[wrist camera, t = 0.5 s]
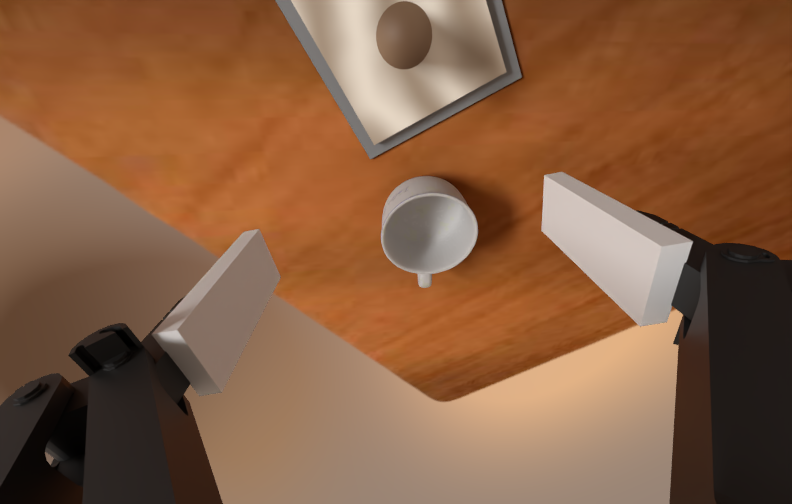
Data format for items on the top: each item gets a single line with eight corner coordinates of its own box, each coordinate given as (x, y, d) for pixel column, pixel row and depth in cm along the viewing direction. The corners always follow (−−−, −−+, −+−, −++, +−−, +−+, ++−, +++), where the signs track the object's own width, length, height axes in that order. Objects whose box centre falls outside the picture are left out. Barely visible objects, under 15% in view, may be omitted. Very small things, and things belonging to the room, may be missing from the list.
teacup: (391, 158, 37) (390, 186, 31) (478, 174, 38) (494, 204, 32) (374, 250, 45) (370, 288, 39) (446, 261, 46) (454, 300, 40)
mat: (454, -172, 23) (455, -174, 22) (520, 76, 32) (521, 77, 32) (266, -17, 28) (264, -18, 27) (370, 158, 37) (370, 159, 37)
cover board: (444, -131, 24) (465, -201, 16) (503, 70, 31) (535, 85, 24) (289, -9, 28) (249, -20, 20) (374, 141, 36) (368, 173, 28)
